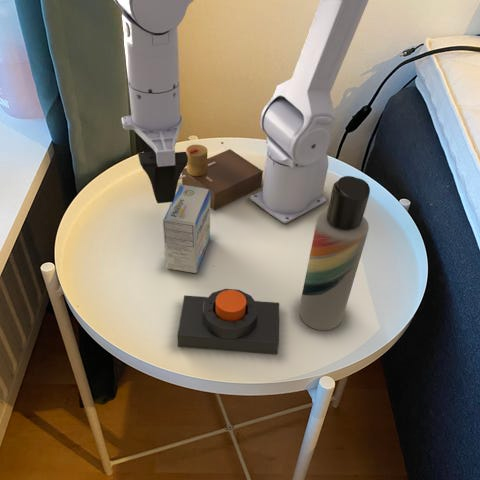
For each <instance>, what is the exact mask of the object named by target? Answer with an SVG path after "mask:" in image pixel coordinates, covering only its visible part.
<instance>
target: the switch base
mask: <svg viewBox="0 0 480 480" xmlns="http://www.w3.org/2000/svg"><path fill="white" fill-rule="evenodd" d="M226 290H235V291H238V292H240V293H242V294H243V295H244V296H245V298H246V311H245V315H244V316H243V317H242V318H241V319H240V320H238V321H234V322H230V321H224V320H222V319H220V318H219V317H218V316H217V314H216V311H215V309H216V297H217V296H218V294H219V293H221V292H223V291H226ZM180 311H181V312H180V317H179V324H178V329H177V333H176V334H177V347H179V348H190V349H191V348H192V349H193V348H194V349H203V350H204V349H205V350H217V351H228V352H229V351H230V352H243V353H253V354H254V353H255V354H268V355H277V354H278V350H279V345H280V303H279V302H273V301H262V300H260V301H259V300H255V299H254V298H253V296H252V295H250V294H248V293H247V292H245V291H243V290H241V289H236V288H222V289H220V290H217V291H214V292H211V294H210V295H208V296H199V295H184V296H183V299H182V306H181V310H180Z"/></svg>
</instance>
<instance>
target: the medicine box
mask: <svg viewBox="0 0 480 480" xmlns="http://www.w3.org/2000/svg"><path fill="white" fill-rule="evenodd" d="M162 235H163V244H164V257H165V259H164V260H165V266H166V267H165V268H166V269H170V270H174V271H181V272H186V273H193V274H197V273H198V272H199V271H198V270H199V268H200V265H201V263H202V260H203V258H204V254H205V252H206V250H207V247H208V244H209V242H210V239H211V207H210V190H208V189H204V188H199V187H194V186H186V185H182V184H180V185H179V187H177V190H176V194H175V197H174V201H173V202H170V205H169V206H168V209H167V210H166V213H165V215H164V217H163V219H162Z"/></svg>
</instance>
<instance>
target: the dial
mask: <svg viewBox="0 0 480 480" xmlns="http://www.w3.org/2000/svg"><path fill="white" fill-rule="evenodd" d="M185 152H186V154H187V157H188V163H187V166H186V168H187V172H188V174H190V175H192V176H202V175H205V174H206V173H207V159H208V148H207V147H206V146H205V145H202V144H191V145H189V146H187V147H186V150H185Z"/></svg>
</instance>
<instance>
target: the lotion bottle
mask: <svg viewBox="0 0 480 480" xmlns="http://www.w3.org/2000/svg"><path fill="white" fill-rule="evenodd" d="M370 194H371V187H370V185H369V183H368V182H367V181H366V180H364V179H362V178H359V177H355V176H352V175H345V176H342V177H340V178H339V179H338V180H337V181H335V182H334V183H333V185H332V190H331V194H330V198H329V203H328V208H326V209H324V210H323V211H322V212H320V214H319V215H318V216H317V219H316V223H315V228H314V233H313V237H312V241H311V242H312V243H311V248H310V253H309V257H308V262H307V266H306V267H307V268H306V272H305V278H304V282H303V286H302V287H303V288H302V292H301V297H300V302H299V309H298V313H299V318H300V320H302V322H303V323H304V324H305V325H306V326H308V328H309V327H310V328H311V329H314V330H317V331H329V330H332V329H335V328H336V327H338V326H339V325H340V324H341V322H342V320H343V318H344V315H345V311H346V309H347V305H348V302H349V298H350V295H351V291H352V288H353V285H354V281H355V277H356V274H357V271H358V268H359V265H360V261H361V257H362V254H363V250H364V248H365V244H366V242H367V241H366V240H367V236H368V233H369V222H368V220H367V218H366V217H365V216H364V215H365V212H366V208H367V205H368V200H369V198H370Z"/></svg>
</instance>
